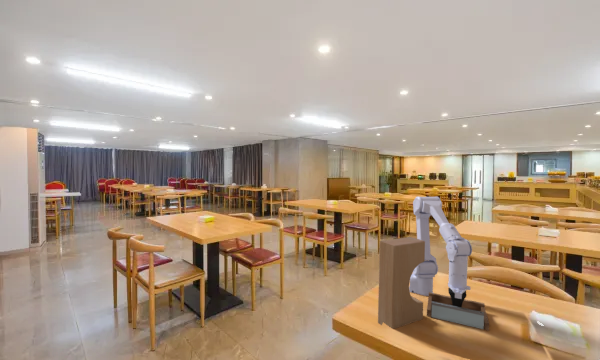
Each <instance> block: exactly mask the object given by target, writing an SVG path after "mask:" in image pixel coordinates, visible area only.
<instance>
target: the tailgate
mask: <svg viewBox="0 0 600 360" xmlns="http://www.w3.org/2000/svg"><path fill="white" fill-rule="evenodd" d="M431 318H433V319H438V320H442V321H446V322H450V323H454V324H459V325H460V324H461V325H463V326H468V327H472V328H476V329H481V330H484V328H483V327H484V312H481V311H476V310H472V309H467V308H462V307H457V306H452V305H448V304H443V303H438V302H433V301H432V316H431Z"/></svg>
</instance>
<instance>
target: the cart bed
mask: <svg viewBox="0 0 600 360" xmlns="http://www.w3.org/2000/svg"><path fill="white" fill-rule="evenodd" d="M427 297H428V298H427V299H428V300H427V306H426V317H429V318H431V317H432V301H433V302H438V303H443V304H448V305H452V300H451V297H450V295H446V294H445V295H444V294H441V293H440V294H439V293H435V292H433V293H430V292H429V296H427ZM485 306H486V304H485V302H481V301H475V300H471V299H470V300H469V299H466V298H465V299H464V301H463V303H462V308H467V309H472V310H476V311H481V312H484V327H483V330H484V331H487V332H489V331H490V321H489V318H488V314H487V311H486V308H485Z"/></svg>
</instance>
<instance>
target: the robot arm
mask: <svg viewBox="0 0 600 360" xmlns="http://www.w3.org/2000/svg"><path fill="white" fill-rule="evenodd" d="M412 205H413V206H412V208H413V209H412V210H413V215H415V219H416V220H415V223H416V225H415V226H416V239H419V240H423V241H425V259H424V262H422V263H420V264H419V265H418V266H417V267H416V268H415V269H414V271H413V273H412V275H411V277H410V283H409V290H410V293H413V294H417V295H420V296H425V297H429V292H430V293H434V288H433V287H434V278H435V277H436V276H437V274H438V272H439V265H438V262H437V258H436V257H435V256H434V255H432V253H431V240H430V238H431V237H430V221H429V218H430V217H433V219H434V220H435V222H436V223H437V224H438V226H439V229H438V232H439V233H440V235H441V237H442V239H443V241H444V242H445V244H446V245H445V251H446V253H447V259H448V260H449V262H448V283H447V286H448V288H447V289H448V294H449V296H450V297H451V300H452V306H457V307H462V303H463V301H464V299H466V298H467V295H468V294H467V290H468V291H471V286H469V285H468V282H467V281H468V264H469V263H468V260H469V259H468V258H469V256H471V255H472V252H473V247H472V245H471V241H469V240H468V239H466V238H465V237H462V235H461V234H460V232H459V231H458V230H457V228H456V226H455V224H454V223H451V222H450V223H449V221H448V219H447V217H446V215H445V212H444V211H443V209H442V207H443V202H442V201H441V198H440V197H439V196H419V195H418V196H416V197H415V198H414V200H413V201H412Z"/></svg>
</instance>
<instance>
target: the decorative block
mask: <svg viewBox="0 0 600 360" xmlns="http://www.w3.org/2000/svg"><path fill="white" fill-rule="evenodd" d="M378 253H379V254H378V255H379V257H378V258H379V260H378V298H377V299H378V304H377V309H378V310H377V323H378V324H379V325H380V326H383V324H385V325H386V326H387V327H389V328H391V329H392V330H394V329H397V328H401V327H403V326H406V325H409V324H411V323H412V324H413V323H415V322H418V321H421V320H423V319H424V318H423V317H424V302H423V301H422V300H420V299H417V298H416V297H414V296H412V295H411V292H410V290H409V286H410V277H411V275H412V273H413V271H414V269H415V268H416V267H417V266H418V265H419V264H420V263H422V262H424V259H425V241H423V240H419V239H417V237H416V238H415V237H413V236H412V237H411V236H408V237H400V238H393V239H392V238H391V239H386V240H380V241H379V252H378Z"/></svg>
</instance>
